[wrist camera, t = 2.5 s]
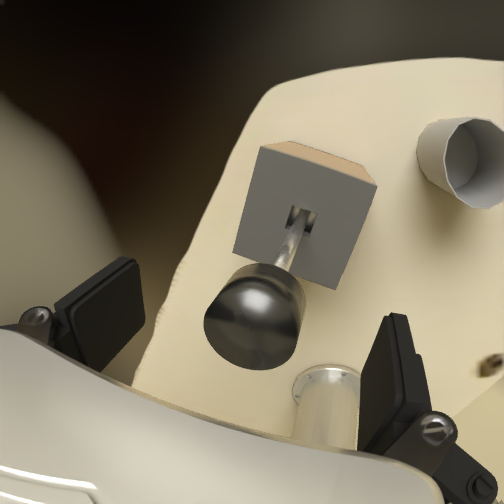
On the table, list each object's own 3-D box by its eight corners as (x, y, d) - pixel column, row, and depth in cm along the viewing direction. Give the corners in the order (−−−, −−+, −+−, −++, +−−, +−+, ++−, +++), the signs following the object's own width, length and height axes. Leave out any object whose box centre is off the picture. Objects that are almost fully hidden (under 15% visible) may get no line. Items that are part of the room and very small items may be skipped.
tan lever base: (329, 255, 38) (322, 318, 26) (263, 231, 39) (225, 282, 27) (362, 165, 33) (377, 186, 20) (289, 140, 34) (260, 146, 22)
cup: (480, 183, 29) (519, 202, 20) (424, 194, 32) (451, 216, 23) (468, 115, 26) (507, 113, 17) (409, 124, 29) (434, 122, 20)
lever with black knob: (326, 254, 26) (298, 409, 11) (262, 231, 27) (166, 357, 12) (350, 191, 24) (365, 296, 9) (281, 167, 24) (183, 230, 10)
